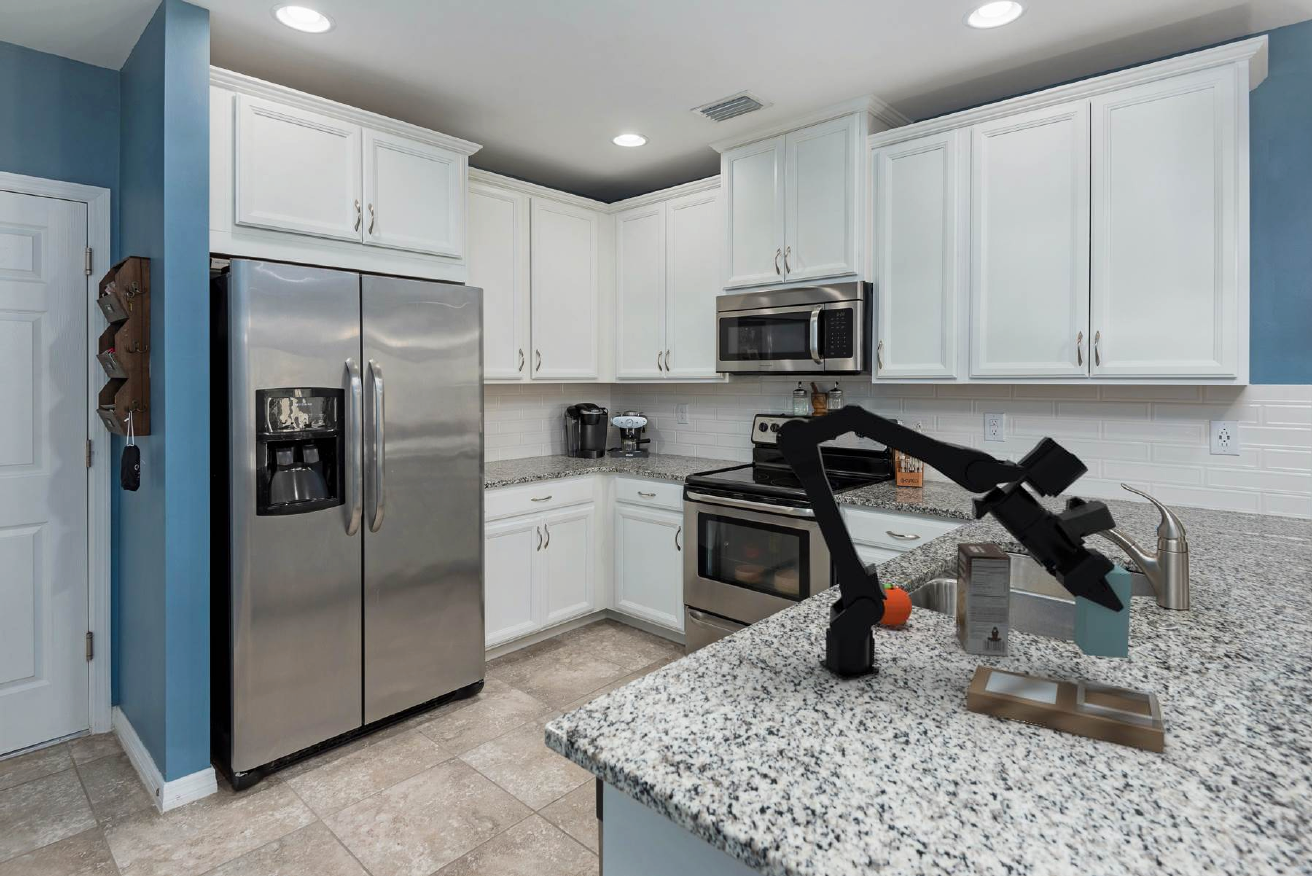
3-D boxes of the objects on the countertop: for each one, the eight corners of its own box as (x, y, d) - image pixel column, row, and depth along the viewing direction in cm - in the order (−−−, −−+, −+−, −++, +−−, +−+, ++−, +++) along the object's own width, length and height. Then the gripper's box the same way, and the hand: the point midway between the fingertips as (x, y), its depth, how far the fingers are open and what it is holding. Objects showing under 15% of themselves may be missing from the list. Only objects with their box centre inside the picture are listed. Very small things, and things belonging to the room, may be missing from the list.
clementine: (858, 620, 127) (858, 581, 127) (887, 614, 130) (888, 577, 130) (890, 634, 120) (890, 593, 119) (920, 627, 123) (921, 588, 122)
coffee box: (954, 634, 120) (956, 541, 118) (994, 636, 118) (996, 543, 117) (966, 654, 111) (969, 554, 109) (1010, 657, 109) (1013, 556, 108)
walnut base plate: (966, 709, 92) (967, 684, 92) (977, 682, 100) (978, 658, 100) (1163, 753, 81) (1164, 724, 80) (1157, 718, 89) (1158, 691, 89)
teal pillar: (1085, 654, 95) (1089, 566, 94) (1073, 641, 99) (1077, 557, 98) (1127, 658, 93) (1131, 568, 92) (1113, 644, 98) (1117, 559, 97)
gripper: (1098, 491, 87) (1197, 584, 85) (1054, 472, 105) (1134, 549, 103) (1026, 550, 89) (1121, 642, 87) (995, 522, 107) (1072, 598, 105)
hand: (1113, 603), depth 95 cm, fingers closed on teal pillar, 5 cm apart
